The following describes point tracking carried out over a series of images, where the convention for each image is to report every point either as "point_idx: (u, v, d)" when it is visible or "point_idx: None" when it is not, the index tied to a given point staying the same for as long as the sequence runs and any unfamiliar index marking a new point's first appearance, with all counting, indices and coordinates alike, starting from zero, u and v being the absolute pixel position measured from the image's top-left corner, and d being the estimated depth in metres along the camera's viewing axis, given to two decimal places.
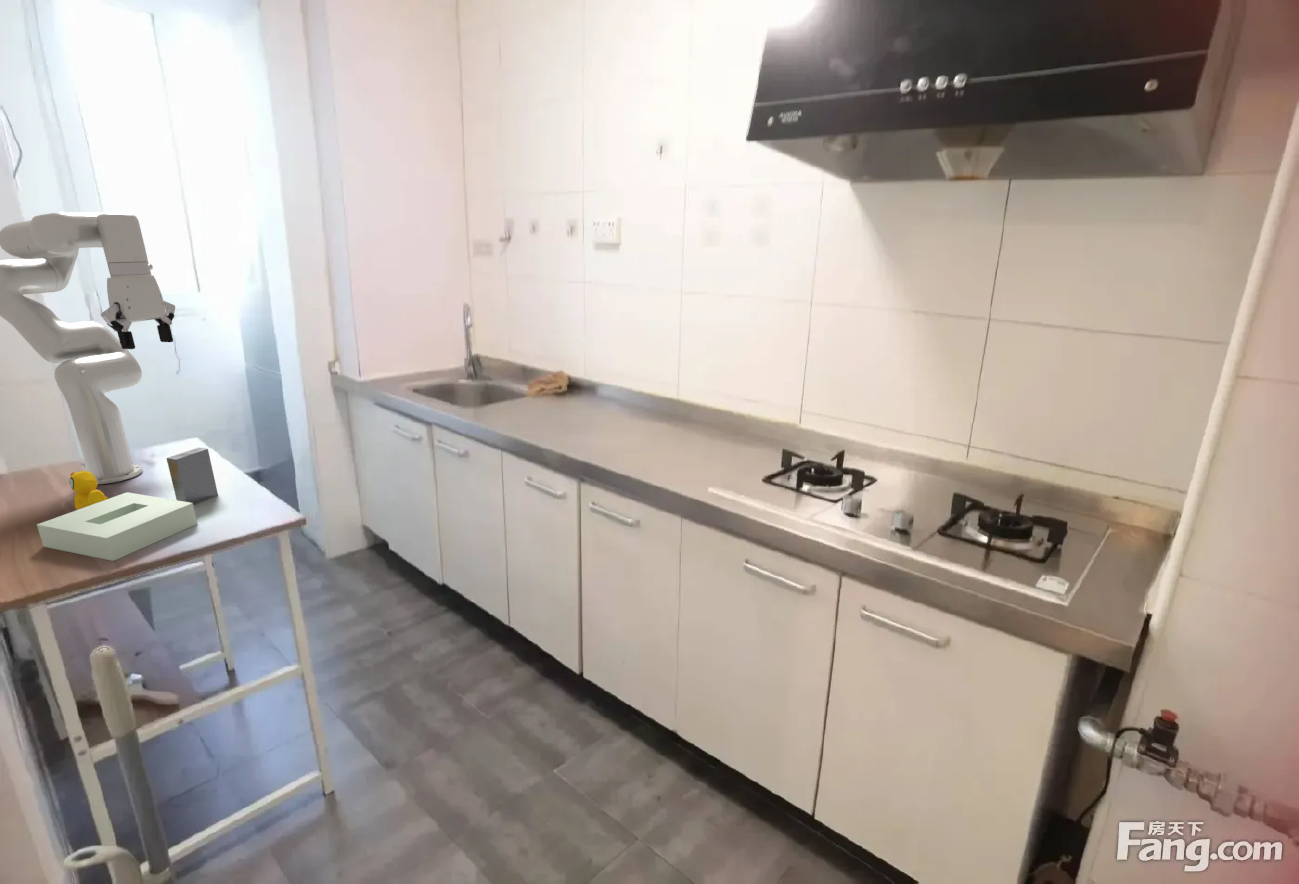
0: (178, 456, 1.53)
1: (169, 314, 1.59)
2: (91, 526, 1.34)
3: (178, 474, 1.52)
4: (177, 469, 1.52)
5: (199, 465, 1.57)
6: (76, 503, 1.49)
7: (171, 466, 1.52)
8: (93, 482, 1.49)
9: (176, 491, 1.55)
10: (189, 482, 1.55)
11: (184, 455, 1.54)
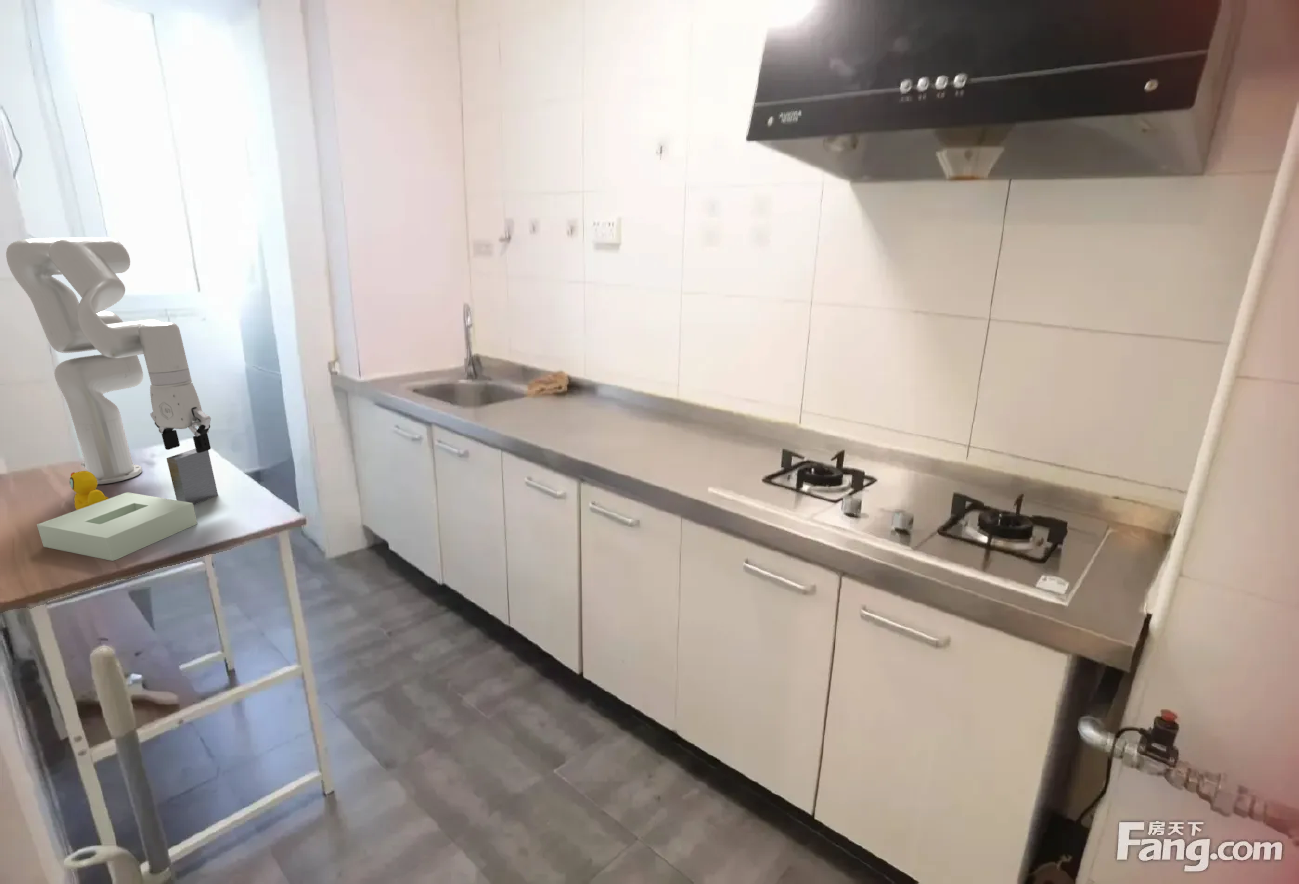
0: (178, 456, 1.53)
1: None
2: (91, 526, 1.34)
3: (178, 474, 1.52)
4: (177, 469, 1.52)
5: (199, 465, 1.57)
6: (76, 503, 1.49)
7: (171, 466, 1.52)
8: (93, 482, 1.49)
9: (176, 491, 1.55)
10: (189, 482, 1.55)
11: (184, 455, 1.54)
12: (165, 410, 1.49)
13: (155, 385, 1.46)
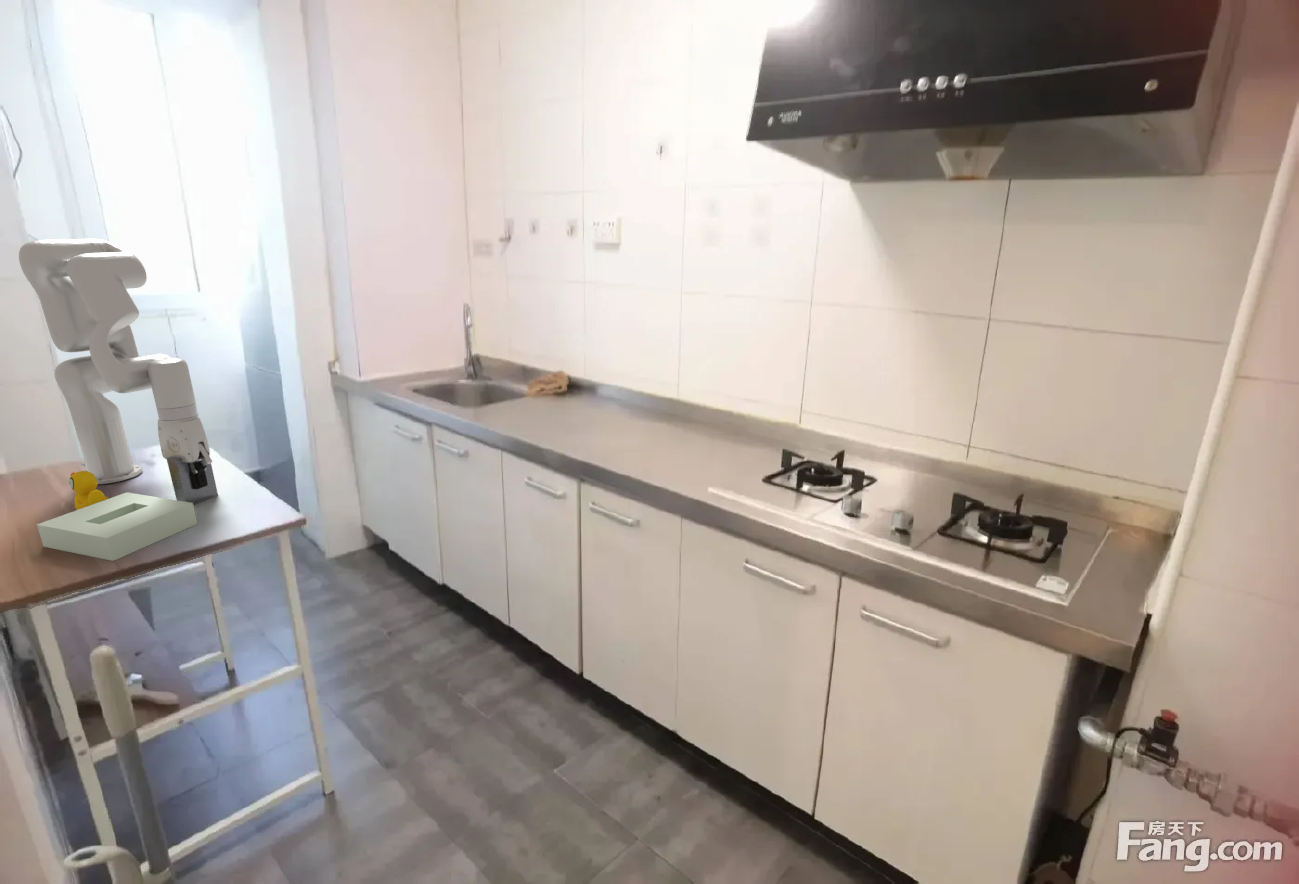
0: None
1: None
2: (91, 526, 1.34)
3: (178, 473, 1.52)
4: (177, 469, 1.52)
5: None
6: (76, 503, 1.49)
7: (171, 466, 1.52)
8: (93, 482, 1.49)
9: (176, 491, 1.55)
10: (189, 482, 1.55)
11: None
12: (172, 444, 1.52)
13: (163, 420, 1.49)
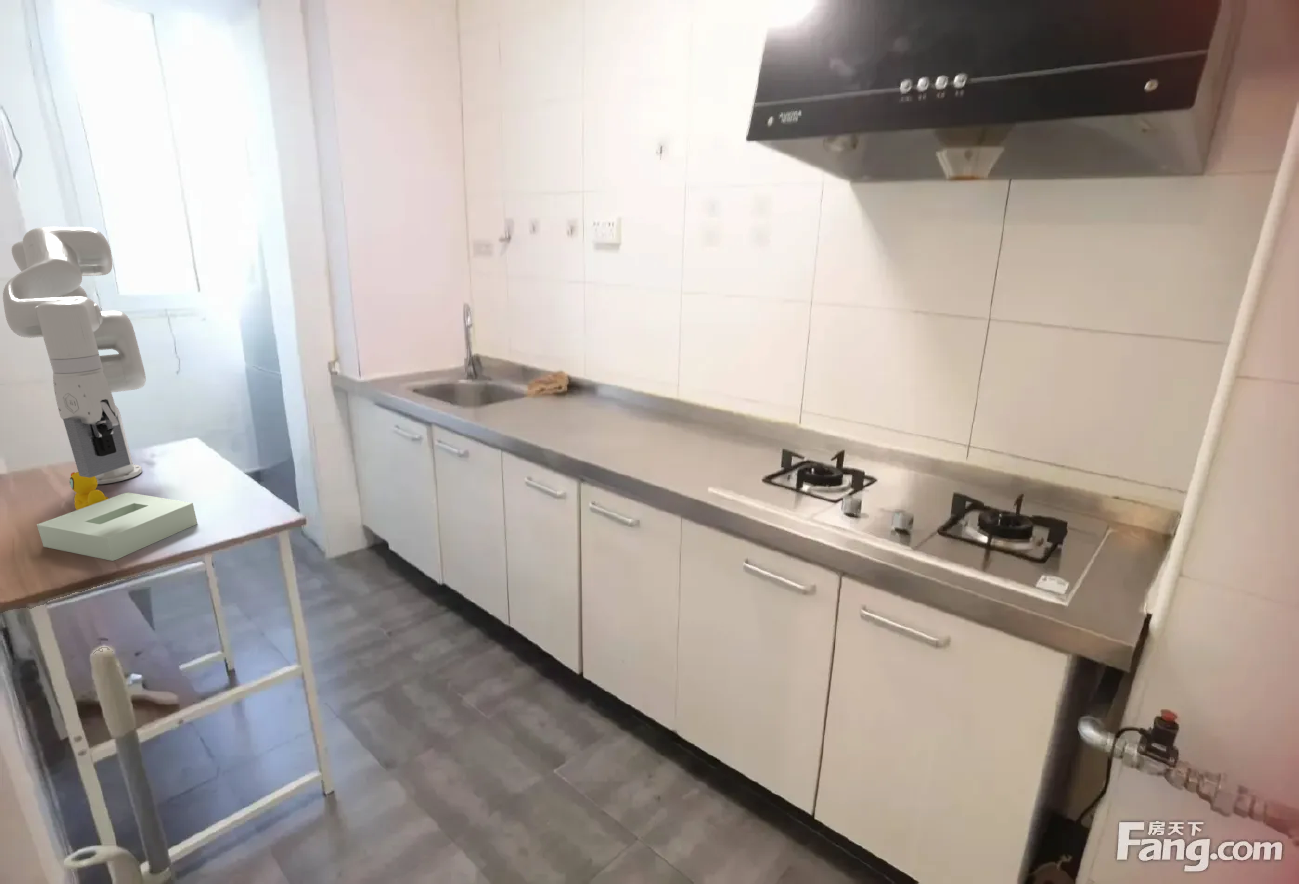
0: None
1: None
2: (91, 526, 1.34)
3: (77, 437, 1.30)
4: (75, 432, 1.30)
5: None
6: (76, 503, 1.49)
7: (69, 429, 1.30)
8: (93, 482, 1.49)
9: (76, 459, 1.32)
10: (92, 448, 1.32)
11: None
12: (70, 402, 1.29)
13: (57, 373, 1.27)
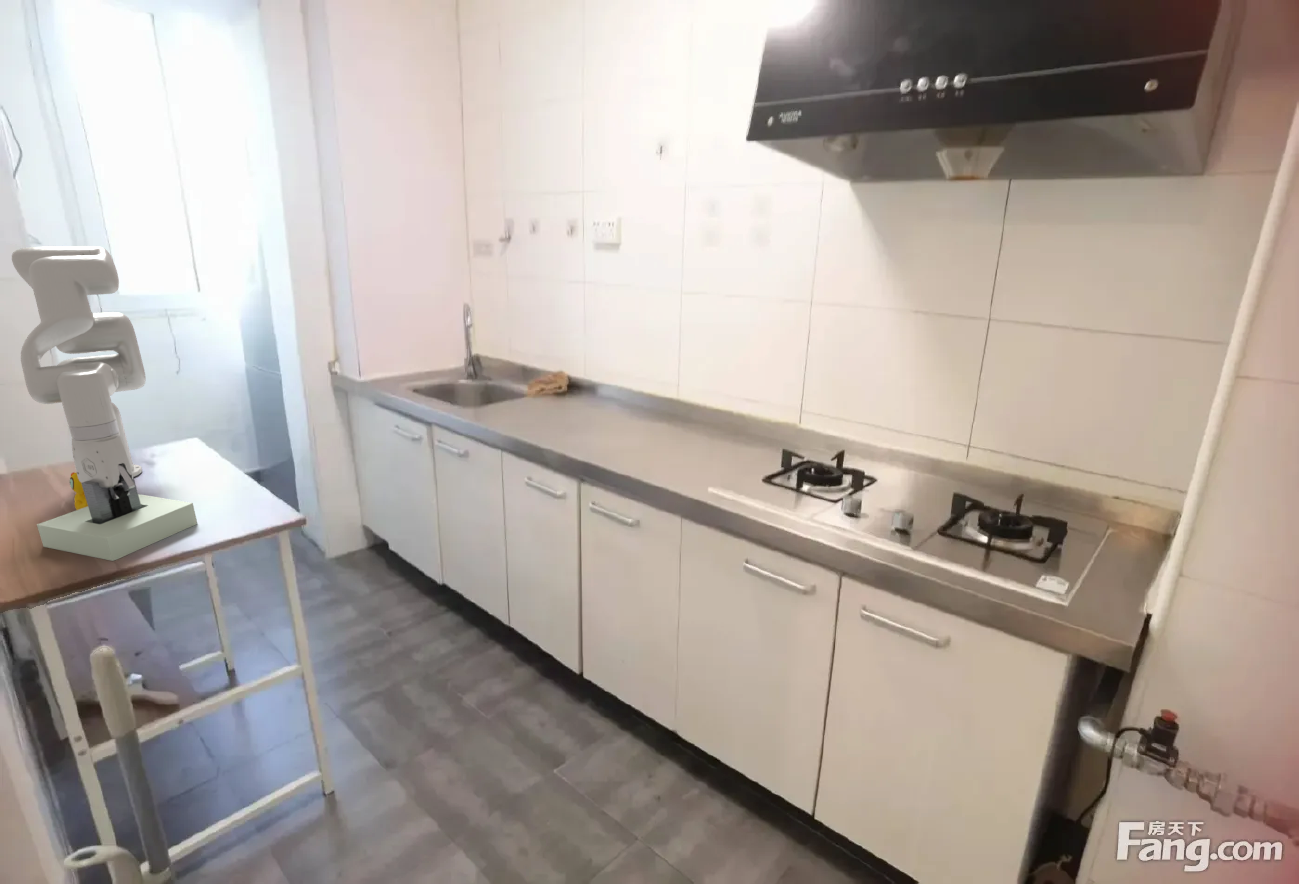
0: None
1: None
2: (91, 526, 1.34)
3: (94, 500, 1.34)
4: (93, 495, 1.34)
5: None
6: (76, 503, 1.49)
7: (87, 492, 1.34)
8: None
9: (94, 520, 1.36)
10: (109, 509, 1.37)
11: None
12: (88, 467, 1.34)
13: (76, 440, 1.31)
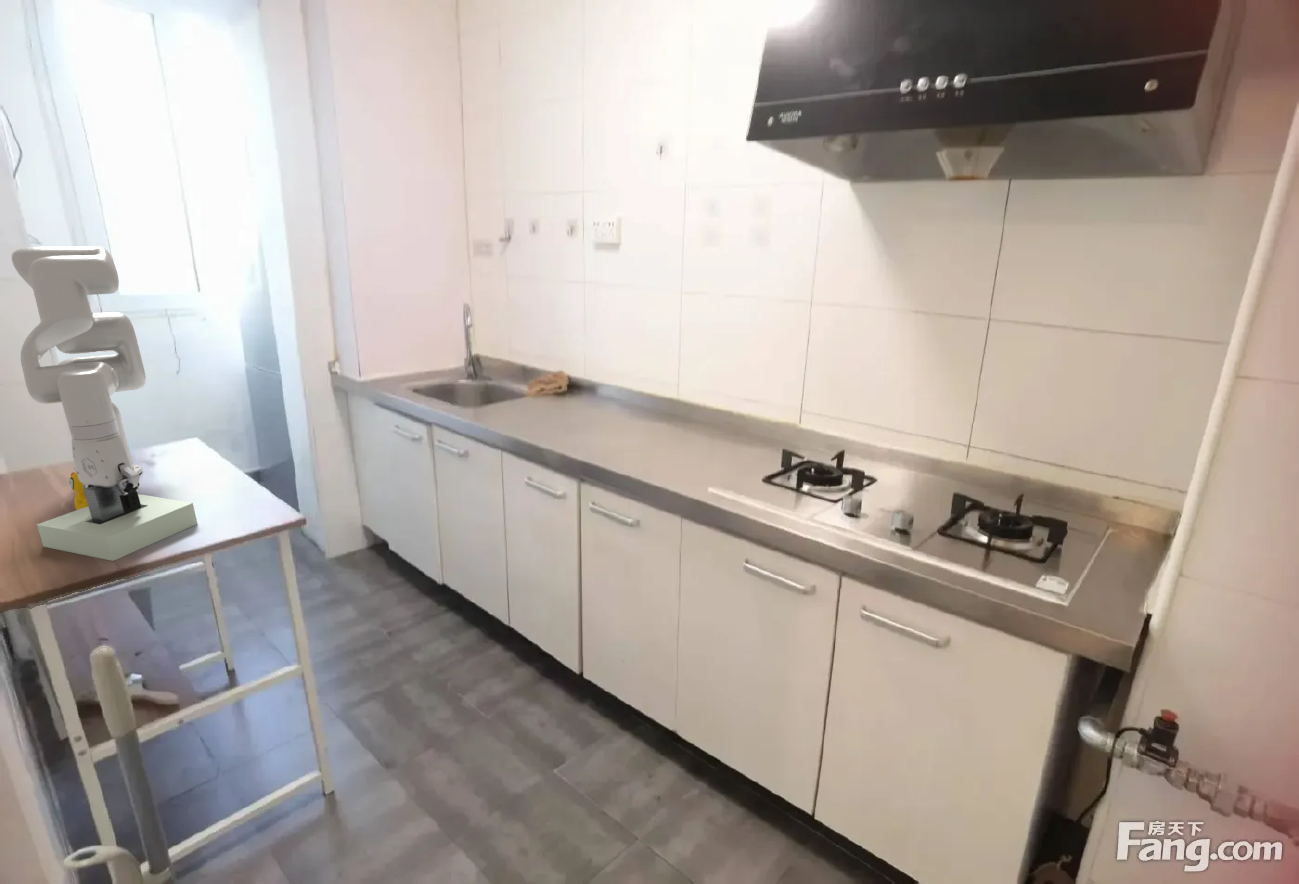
0: (97, 486, 1.35)
1: None
2: (91, 526, 1.34)
3: (97, 506, 1.35)
4: (96, 501, 1.34)
5: None
6: (76, 503, 1.49)
7: (89, 498, 1.35)
8: None
9: None
10: (111, 515, 1.37)
11: None
12: (88, 466, 1.34)
13: (76, 440, 1.31)
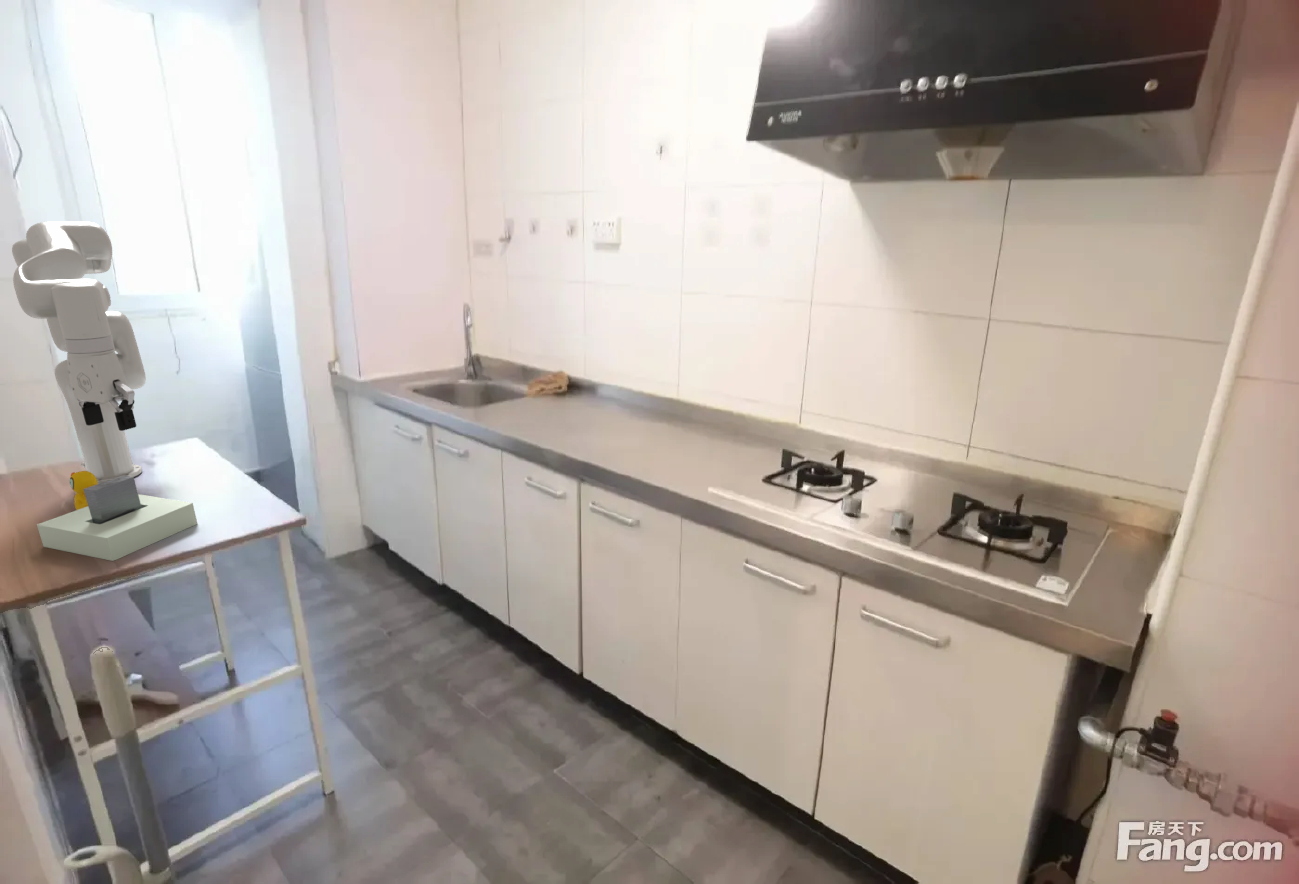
0: (97, 486, 1.35)
1: None
2: (91, 526, 1.34)
3: (97, 506, 1.35)
4: (96, 501, 1.34)
5: (123, 496, 1.39)
6: (76, 503, 1.49)
7: (89, 498, 1.35)
8: (93, 482, 1.49)
9: None
10: (111, 515, 1.37)
11: (104, 485, 1.36)
12: (83, 382, 1.33)
13: (71, 353, 1.30)
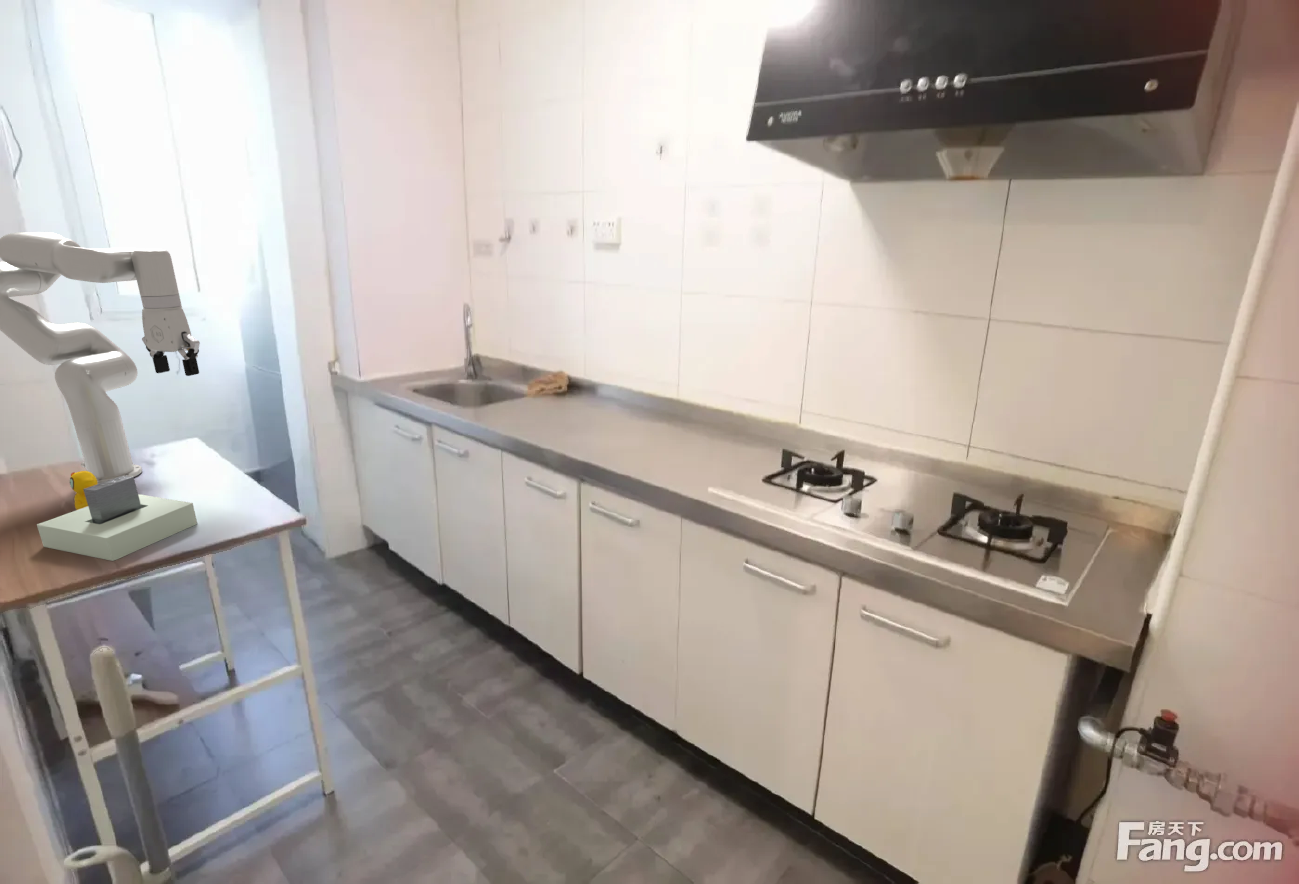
0: (97, 486, 1.35)
1: None
2: (91, 526, 1.34)
3: (97, 506, 1.35)
4: (96, 501, 1.34)
5: (123, 496, 1.39)
6: (76, 503, 1.49)
7: (89, 498, 1.35)
8: (93, 482, 1.49)
9: None
10: (111, 515, 1.37)
11: (104, 485, 1.36)
12: (156, 333, 1.57)
13: (147, 308, 1.54)
